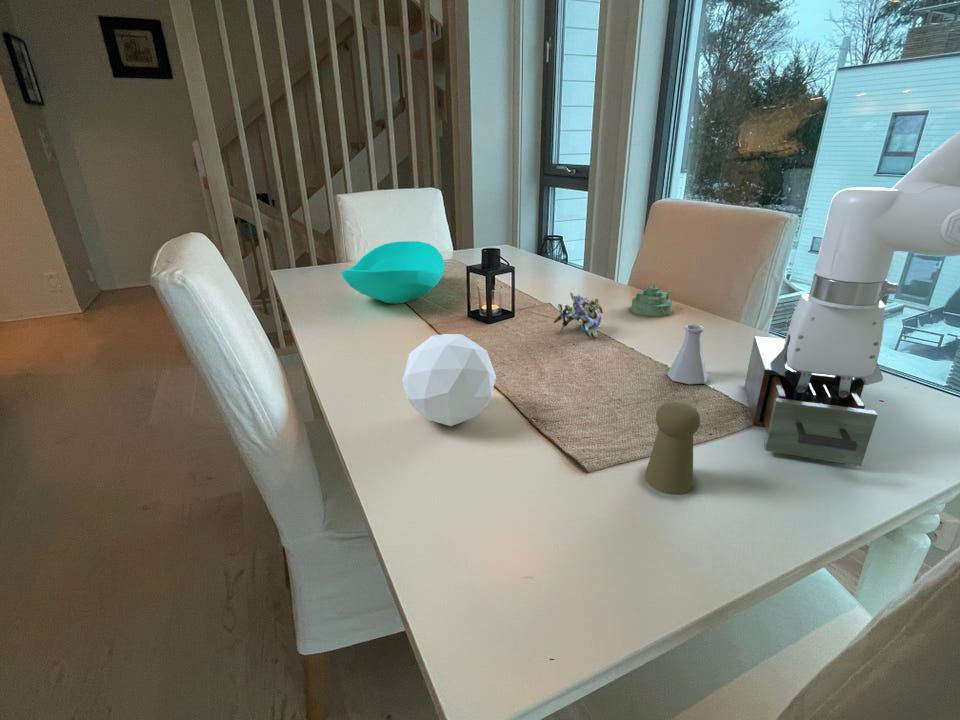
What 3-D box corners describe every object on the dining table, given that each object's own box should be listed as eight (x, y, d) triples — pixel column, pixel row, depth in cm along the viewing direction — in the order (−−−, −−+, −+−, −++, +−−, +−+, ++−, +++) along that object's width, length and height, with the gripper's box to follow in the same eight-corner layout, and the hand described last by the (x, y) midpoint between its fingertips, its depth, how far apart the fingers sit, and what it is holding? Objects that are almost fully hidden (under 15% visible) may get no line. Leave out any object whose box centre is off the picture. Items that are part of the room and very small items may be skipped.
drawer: (871, 486, 64) (889, 432, 61) (769, 468, 68) (781, 417, 65) (836, 417, 79) (849, 372, 76) (754, 406, 83) (764, 363, 80)
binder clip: (828, 428, 70) (836, 399, 68) (803, 424, 71) (810, 396, 69) (820, 411, 74) (828, 383, 72) (797, 408, 75) (803, 381, 73)
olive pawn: (696, 474, 68) (709, 401, 64) (688, 500, 64) (701, 423, 59) (650, 461, 71) (660, 391, 67) (639, 485, 67) (648, 411, 62)
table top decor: (432, 323, 128) (429, 270, 122) (325, 322, 130) (318, 271, 125) (454, 282, 164) (452, 240, 159) (370, 282, 167) (365, 241, 161)
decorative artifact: (630, 314, 130) (671, 317, 127) (633, 288, 127) (675, 290, 124) (632, 303, 139) (671, 306, 136) (634, 278, 136) (674, 280, 133)
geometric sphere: (442, 433, 89) (439, 350, 93) (515, 424, 81) (510, 334, 85) (383, 428, 78) (383, 333, 81) (461, 416, 70) (458, 312, 73)
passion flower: (591, 358, 119) (598, 329, 108) (546, 345, 121) (549, 316, 111) (602, 320, 124) (611, 289, 113) (559, 309, 126) (563, 277, 116)
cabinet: (847, 439, 75) (865, 380, 72) (752, 425, 80) (764, 369, 76) (825, 396, 88) (839, 344, 84) (744, 386, 92) (754, 336, 88)
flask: (668, 384, 93) (675, 332, 90) (664, 368, 100) (671, 319, 96) (710, 387, 92) (719, 335, 88) (704, 370, 98) (712, 321, 94)
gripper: (912, 286, 66) (873, 412, 73) (769, 279, 71) (746, 396, 78) (936, 303, 59) (890, 439, 66) (777, 293, 65) (751, 420, 72)
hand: (812, 415), depth 72 cm, fingers closed on binder clip, 3 cm apart
